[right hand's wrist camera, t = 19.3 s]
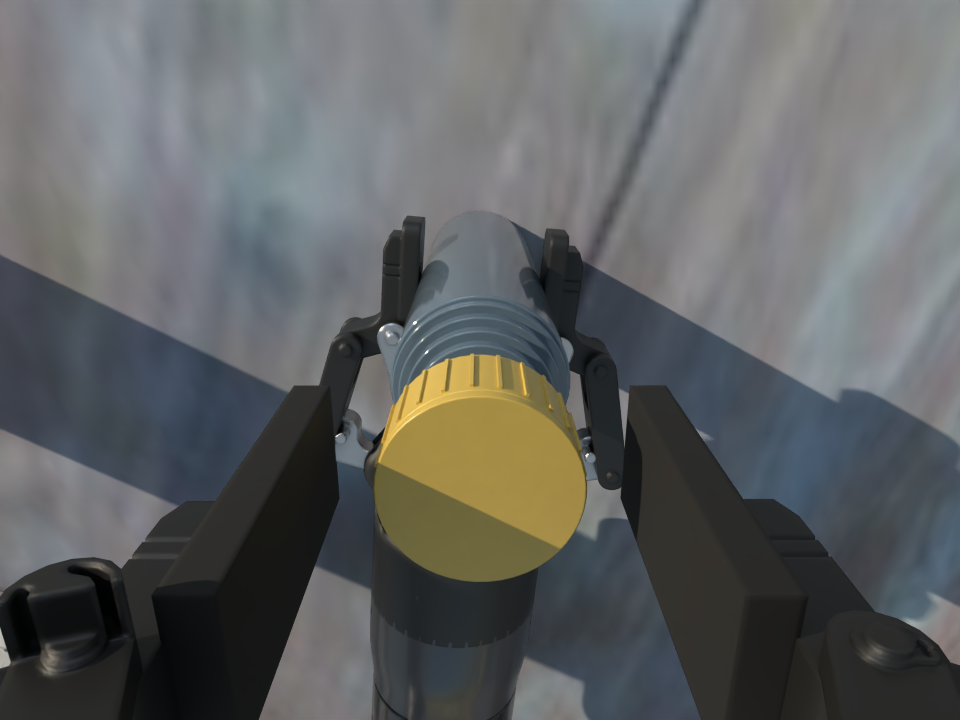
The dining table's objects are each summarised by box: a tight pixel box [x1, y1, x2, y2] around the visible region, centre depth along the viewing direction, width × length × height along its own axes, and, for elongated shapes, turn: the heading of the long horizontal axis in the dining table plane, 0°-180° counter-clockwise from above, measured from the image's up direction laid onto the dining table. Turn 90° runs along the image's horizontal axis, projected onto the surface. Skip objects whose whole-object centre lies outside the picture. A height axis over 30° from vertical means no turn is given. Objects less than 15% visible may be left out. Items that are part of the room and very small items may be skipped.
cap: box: [374, 354, 587, 582], centre depth 14 cm, size 4×4×2 cm
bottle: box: [390, 211, 570, 406], centre depth 23 cm, size 5×5×20 cm
